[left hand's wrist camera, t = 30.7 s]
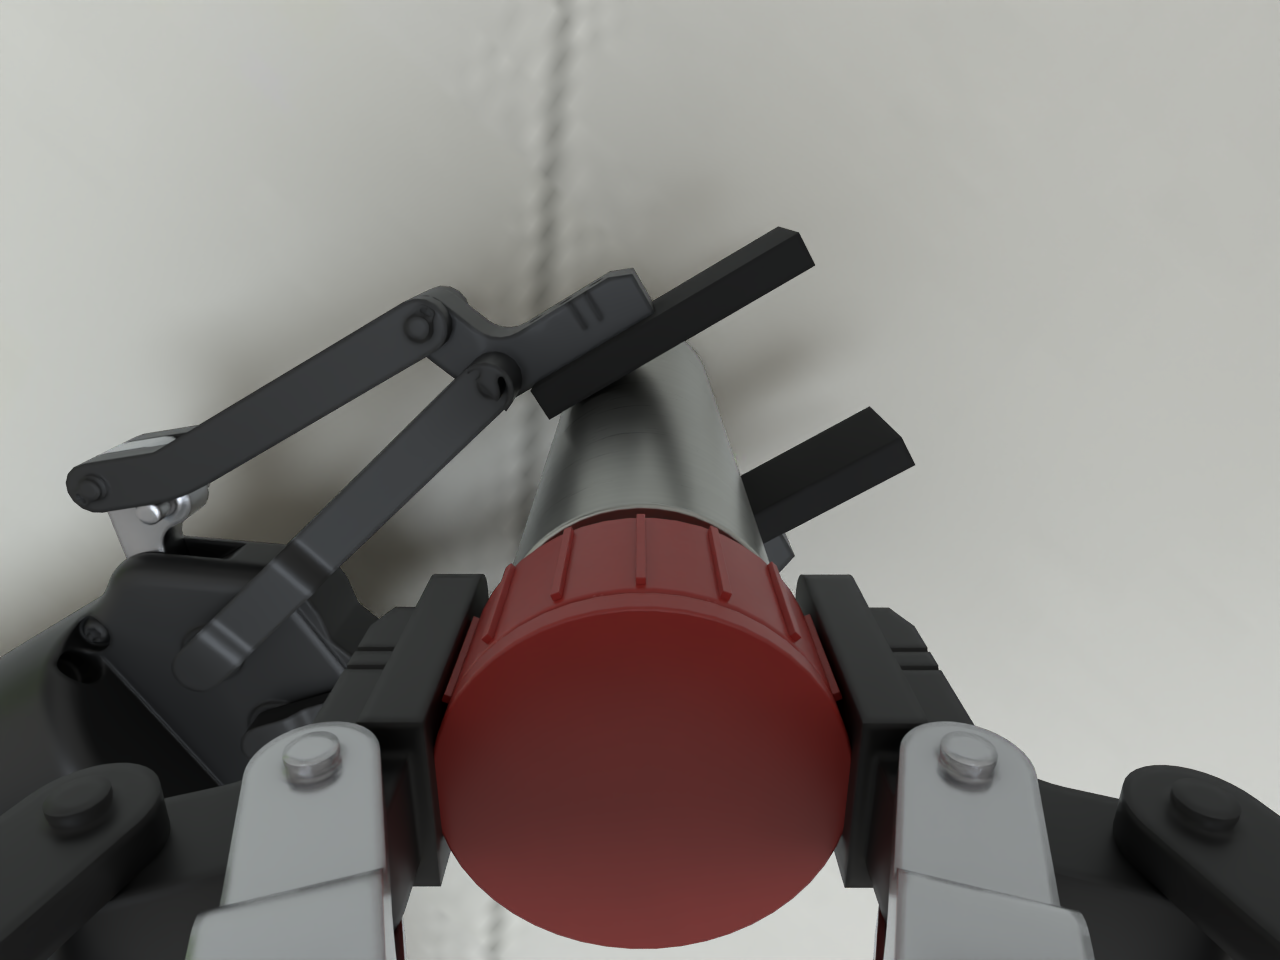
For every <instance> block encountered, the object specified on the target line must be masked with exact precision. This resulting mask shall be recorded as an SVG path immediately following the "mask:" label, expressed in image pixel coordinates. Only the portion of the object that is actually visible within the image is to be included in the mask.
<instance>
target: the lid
mask: <svg viewBox="0 0 1280 960" xmlns="http://www.w3.org/2000/svg"><path fill="white" fill-rule="evenodd" d="M841 699H842V695H841V693H840V690H839V688H838V685H837V683H836V680H835V677H834V675H833V672H832V670H831V667H830V664H829V662H828V659H827V657H826V654H825V651H824V649H823V646H822V644H821V641H820V638H819V636H818V633H817V631H816V628H815V625H814V623H813V620H812V618H811V615H810V614H808V615H806V616H804V615H803V613H802V610H801V608H800V606H799V604H798V602H797V601H796V599H795V597H794V596H793V594H792V592H791V591H790V589H789V588H788V587H787V585H786V584H785V583H784V582H783V580H782V579H781V577H780V574H779V571H778V568H777V566H776V565H775V564H774V563H773V562H770V563H769V564H768V565H767V564H766V563H765V562H764V561H763V560H762V559H761V558H760V557H758V556H757V555H755V554H754V553H753V552H751V551H750V550H748V549H747V548H746V547H744V546H743V545H741V544H739V543H737V542H735V541H733V540H732V539H730V538H728V537H726V536H724V535H722V534H719V531H718V528H716V527H713V526H710V527H709V529H706V528H703V527H701V526H697V525H693V524H689V523H685V522H680V521H676V520H667V519H658V518H645V514H637V517H636V518H625V519H618V520H608V521H603V522H600V523H596V524H592V525H588V526H584V527H581V528H578V529H576V530H573V528H572V527H569V528H566V529H564V532H563V535H560V536H558V537H556V538H555V539H553V540H551V541H549V542H547V543H546V544H544V545H542V546H540V547H539V548H537V549H536V550H535V551H533V552H532V553H530V554H529V555H528V556H526V557H525V558H524V559H522V560H521V561H520V562H519V563H518V564H517V565H516V566H514V565H513V564H511V563H510V564H509V565H508V566H507V567H506V569H505V572H504V575H503V578H502V581H501V582H500V583H499V585H498V586H497V587H496V589H495V590H494V591H493V593H492V594H491V596H490V598H489V600H488V601H487V603H486V605H485V607H484V609H483V611H482V613H481V616H480V618H478V617H475V616H474V617H473V619H472V621H471V624H470V626H469V629H468V632H467V634H466V637H465V640H464V642H463V645H462V648H461V650H460V653H459V656H458V658H457V661H456V664H455V666H454V669H453V671H452V674H451V677H450V679H449V682H448V685H447V687H446V690H445V693H444V695H443V698H442V702H445V703H448V706H447V709H446V712H445V715H444V717H443V720H442V723H441V725H440V728H439V731H438V734H437V736H436V741H435V746H434V761H435V771H436V780H437V790H438V799H439V808H440V817H441V826H442V833H443V835H444V838H445V840H446V842H447V844H448V846H449V848H450V850H451V851H452V853H453V854H454V856H455V858H456V859H457V861H458V862H459V864H460V865H461V867H462V868H463V869H464V870H465V871H466V873H467V874H468V875H469V876H470V877H471V878H472V880H473V881H474V882H475V883H476V884H477V885H478V886H479V887H480V888H481V889H482V890H483V891H485V892H486V893H487V894H488V895H489V896H490V897H491V898H492V899H493V900H495V901H496V902H498V903H499V904H500V905H502V906H503V907H505V908H506V909H508V910H509V911H510V912H512V913H513V914H515V915H517V916H519V917H520V918H522V919H524V920H526V921H528V922H530V923H531V924H533V925H535V926H538V927H540V928H543V929H545V930H547V931H550V932H552V933H555V934H557V935H560V936H564V937H567V938H570V939H574V940H577V941H580V942H585V943H590V944H596V945H601V946H606V947H617V948H628V949H658V948H668V947H677V946H684V945H689V944H694V943H699V942H704V941H708V940H711V939H715V938H718V937H721V936H724V935H728V934H731V933H733V932H735V931H738V930H740V929H742V928H745V927H747V926H749V925H752V924H754V923H755V922H757V921H759V920H761V919H763V918H764V917H766V916H768V915H770V914H771V913H773V912H775V911H776V910H778V909H779V908H780V907H782V906H783V905H784V904H786V903H787V902H789V901H790V900H791V899H793V898H794V897H795V896H796V895H797V894H798V893H799V892H800V891H801V890H803V889H804V888H805V887H806V886H807V885H808V884H809V883H810V882H811V881H812V880H813V879H814V877H815V876H816V875H817V874H818V873H819V871H820V870H821V869H822V868H823V867H824V865H825V864H826V862H827V861H828V859H829V858H830V856H831V854H832V853H833V851H834V850H835V848H836V846H837V844H838V842H839V840H840V838H841V835H842V833H843V827H844V819H845V810H846V801H847V792H848V783H849V774H850V765H851V745H850V741H849V736H848V733H847V730H846V728H845V725H844V722H843V719H842V717H841V714H840V711H839V709H838V706H837V703H836V701H838V700H841Z"/></svg>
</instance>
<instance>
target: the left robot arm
mask: <svg viewBox="0 0 1280 960" xmlns="http://www.w3.org/2000/svg"><path fill="white" fill-rule="evenodd" d="M488 600H489V597H488V586H487V581H486V577H485V575H484V574H434V575H432V577H431V578H430V580H429V582H428V584H427V586H426V588H425V590H424V592H423V594H422V596H421V598H420V600H419V602H418V604H417V605H416V607H395V608H394V609H392V610H391V611H390V612H388V613H387V614H385V615H384V616H383V617H381V618H380V619H379V620H377V621H376V622H374V623H373V624H372V625H370V627H369V629H368V630H367V632H366V634H365V635H364V637H363V639H362V640H361V642H360V644H359V645H358V650H357V651H355V652H354V654H353V655H352V657H351V659H350V660H349V662H348V664H347V669H344V670H343V672H342V674H341V675H340V677H339V679H338V681H337V682H336V684H335V686H334V687H333V689H332V691H331V692H330V694H329V696H328V697H327V699H326V701H325V702H324V704H323V706H322V707H321V709H320V711H319V712H318V714H317V716H316V717H315V719H314V721H313V722H312V724H310V725H306V726H302V727H299V728H296V729H293V730H291V731H289V732H287V733H284V734H282V735H280V736H279V737H277V738H275V739H273V740H272V741H270V742H269V743H267V744H266V745H264V746H263V747H262V748H261V749H260V750H259V751H258V752H257V753H256V754H255V755H254V756H253V757H252V758H251V760H250V761H249V763H248V764H247V766H246V768H245V771H244V774H243V779H242V780H241V781H238V782H235V783H231V784H227V785H223V786H219V787H214V788H210V789H205V790H201V791H196V792H191V793H187V794H182V795H178V796H173V797H168V798H164V796H163V792H162V788H161V784H160V781H159V778H158V776H157V775H156V774H155V772H154V771H152V770H151V769H149V768H147V767H145V766H142V765H139V764H133V763H111V764H103V765H98V766H93V767H89V768H85V769H82V770H78V771H76V772H73V773H70V774H68V775H65V776H63V777H61V778H58V779H56V780H54V781H52V782H50V783H48V784H46V785H45V786H43V787H41V788H39V789H38V790H36V791H35V792H33V793H32V794H30V795H29V796H27V797H26V798H24V799H23V800H22V801H20V802H19V803H17V804H16V805H15V806H13V807H12V808H11V809H9V810H8V811H6V812H5V813H4V814H2V815H1V816H0V960H407V955H406V941H405V930H404V923H403V914H404V911H405V908H406V905H407V902H408V899H409V896H410V892H411V889H412V886H441V884H442V880H443V876H444V873H445V869H446V866H447V862H448V859H449V855H450V851H451V850H450V848H449V846H448V844H447V842H446V840H445V838H444V835H443V833H442V826H441V817H440V808H439V799H438V790H437V780H436V771H435V761H434V746H435V741H436V736H437V734H438V731H439V728H440V725H441V723H442V720H443V717H444V715H445V712H446V709H447V706H448V703H445V702H442V698H443V695H444V693H445V690H446V687H447V685H448V682H449V679H450V677H451V674H452V671H453V669H454V666H455V664H456V661H457V658H458V656H459V653H460V650H461V648H462V645H463V642H464V640H465V637H466V634H467V632H468V629H469V626H470V624H471V621H472V619H473V617H474V616H475V617H478V618H480V616H481V613H482V611H483V609H484V607H485V605H486V603H487V601H488ZM796 601H797V602H798V604H799V606H800V608H801V610H802V613H803V615H804V616H806V615H808V614H810V615H811V618H812V620H813V623H814V625H815V628H816V631H817V633H818V636H819V638H820V641H821V644H822V646H823V649H824V651H825V654H826V657H827V659H828V662H829V664H830V667H831V670H832V672H833V675H834V677H835V680H836V683H837V685H838V688H839V690H840V693H841V695H842V699H841V700H838V701H836V703H837V706H838V709H839V711H840V714H841V717H842V719H843V722H844V725H845V728H846V730H847V733H848V736H849V741H850V745H851V765H850V774H849V783H848V792H847V801H846V810H845V819H844V827H843V833H842V835H841V838H840V840H839V842H838V844H837V846H836V848H835V850H834V852H835V855H836V859H837V862H838V866H839V869H840V873H841V876H842V880H843V883H844V887H845V888H874V891H875V894H876V897H877V900H878V903H879V908H878V915H877V923H876V930H875V941H874V955H873V960H1280V816H1279V815H1278V814H1276V813H1275V812H1274V811H1272V810H1271V809H1269V808H1268V807H1267V806H1265V805H1264V804H1263V803H1261V802H1260V801H1258V800H1257V799H1256V798H1254V797H1253V796H1251V795H1250V794H1248V793H1247V792H1245V791H1243V790H1242V789H1240V788H1238V787H1236V786H1234V785H1233V784H1231V783H1228V782H1226V781H1224V780H1222V779H1220V778H1217V777H1215V776H1212V775H1209V774H1206V773H1203V772H1200V771H1196V770H1193V769H1189V768H1184V767H1179V766H1169V765H1152V766H1145V767H1142V768H1139V769H1136V770H1134V771H1133V772H1131V773H1130V774H1129V775H1128V776H1127V777H1126V778H1125V781H1124V783H1123V786H1122V790H1121V794H1120V798H1119V799H1117V798H1112V797H1108V796H1103V795H1098V794H1094V793H1089V792H1085V791H1080V790H1075V789H1071V788H1066V787H1062V786H1058V785H1055V784H1051V783H1048V782H1045V781H1042V780H1040V779H1037V774H1036V771H1035V768H1034V766H1033V764H1032V763H1031V761H1030V760H1029V758H1028V757H1027V756H1026V755H1025V754H1024V753H1023V752H1022V751H1021V750H1020V749H1019V748H1018V747H1017V746H1016V745H1014V744H1013V743H1011V742H1010V741H1008V740H1007V739H1005V738H1003V737H1001V736H1000V735H998V734H996V733H993V732H991V731H989V730H987V729H984V728H981V727H978V726H975V725H974V724H973V722H972V720H971V719H970V717H969V716H968V714H967V712H966V711H965V709H964V707H963V706H962V704H961V702H960V701H959V699H958V697H957V696H956V694H955V692H954V691H953V689H952V688H951V686H950V684H949V683H948V681H947V679H946V678H945V676H944V674H943V673H942V671H941V670H938V664H937V663H936V661H935V659H934V658H933V656H932V655H931V653H930V652H928V651H927V646H926V645H925V643H924V641H923V640H922V638H921V636H920V635H919V633H918V631H917V630H916V628H915V626H913V625H912V624H911V623H909V622H908V621H906V620H905V619H904V618H902V617H901V616H900V615H898V614H897V613H895V612H894V611H893V610H891V609H890V608H869V607H868V605H867V603H866V601H865V599H864V597H863V595H862V593H861V591H860V590H859V588H858V586H857V584H856V582H855V580H854V578H853V577H852V576H851V575H800V576H799V578H798V582H797V588H796Z"/></svg>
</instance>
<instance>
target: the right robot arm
mask: <svg viewBox="0 0 1280 960" xmlns="http://www.w3.org/2000/svg"><path fill="white" fill-rule="evenodd" d="M813 266H815V264H814V262H813V260H812V258H811V256H810V254H809V252H808V250H807V248H806V246H805V244H804V242H803V240H802V238H801V236H800V234H799V232H795V231H792V230H788V229H785V228H781V227H777V228H775V229H773V230H772V231H770V232H768V233H767V234H765V235H763V236H761V237H760V238H758V239H756V240H755V241H753V242H751V243H750V244H748V245H746V246H745V247H743V248H741V249H740V250H738V251H736V252H735V253H733V254H731V255H730V256H728V257H726V258H724V259H723V260H721V261H719V262H718V263H716V264H714V265H713V266H711V267H709V268H708V269H706V270H704V271H703V272H701V273H699V274H698V275H696V276H694V277H693V278H691V279H689V280H687V281H686V282H684V283H682V284H681V285H679V286H677V287H676V288H674V289H672V290H671V291H669V292H667V293H666V294H664V295H662V296H661V297H659V298H657V299H656V300H654V301H652V300H651V298H650V296H649V295H648V293H647V291H646V289H645V288H644V286H643V284H642V282H641V281H640V279H639V277H638V275H637V274H636V272H635V270H634V268H629V269H623V270H616V271H610V272H608V273H607V274H605V275H604V276H602V277H600V278H599V279H597V280H595V281H594V282H592V283H590V284H589V285H587V286H585V287H584V288H582V289H581V290H579V291H577V292H576V293H574V294H572V295H571V296H569V297H567V298H566V299H564V300H562V301H561V302H559V303H558V304H556V305H554V306H553V307H551V308H549V309H548V310H546V311H544V312H543V313H541V314H539V315H538V316H536V317H535V318H533V319H531V320H530V321H528V322H526V323H524V324H522V325H520V326H515V327H502V326H499V325H496V324H494V323H492V322H490V321H489V320H487V319H486V318H485V317H483V316H482V315H481V314H480V313H478V312H477V311H476V310H475V309H473V308H472V307H471V306H469V305H468V303H467V300H466V298H465V297H464V296H463V295H462V294H461V293H460V292H459V291H458V290H456V289H454V288H452V287H449V286H438V287H435V288H432V289H430V290H428V291H426V292H423V293H421V294H419V295H417V296H415V297H413V298H411V299H409V300H407V301H405V302H403V303H401V304H400V305H398V306H396V307H395V308H393V309H391V310H390V311H388V312H386V313H385V314H383V315H381V316H380V317H378V318H376V319H375V320H373V321H371V322H370V323H368V324H366V325H365V326H363V327H361V328H360V329H358V330H356V331H355V332H353V333H351V334H350V335H348V336H346V337H345V338H343V339H341V340H340V341H338V342H336V343H335V344H333V345H331V346H330V347H328V348H326V349H325V350H323V351H321V352H320V353H318V354H316V355H315V356H313V357H311V358H310V359H308V360H306V361H305V362H303V363H301V364H300V365H298V366H296V367H295V368H293V369H291V370H290V371H288V372H286V373H285V374H283V375H281V376H280V377H278V378H276V379H275V380H273V381H271V382H270V383H268V384H266V385H265V386H263V387H261V388H260V389H258V390H256V391H255V392H253V393H251V394H250V395H248V396H246V397H245V398H243V399H242V400H240V401H238V402H237V403H235V404H233V405H232V406H230V407H228V408H227V409H225V410H223V411H222V412H220V413H218V414H217V415H215V416H213V417H212V418H210V419H208V420H207V421H205V422H203V423H202V424H200V425H196V426H190V427H184V428H177V429H171V430H165V431H159V432H152V433H146V434H142V435H139V436H137V437H135V438H133V439H131V440H128V441H126V442H124V443H122V444H120V445H118V446H116V447H114V448H112V449H110V450H108V451H106V452H104V453H102V454H100V455H98V456H96V457H94V458H92V459H90V460H88V461H86V462H84V463H82V464H80V465H78V466H76V467H74V468H73V469H72V470H71V471H70V472H69V473H68V476H67V480H66V486H67V491H68V493H69V495H70V496H71V498H72V500H73V501H74V502H75V503H76V504H78V505H79V506H80V507H81V508H83V509H85V510H88V511H91V512H101V513H103V512H108V514H109V516H110V519H111V521H112V524H113V526H114V529H115V531H116V533H117V536H118V538H119V541H120V543H121V546H122V548H123V551H124V553H125V555H126V558H127V559H126V560H125V561H124V562H122V563H121V564H120V565H119V566H118V567H117V568H116V570H115V571H114V572H113V574H112V576H111V578H110V581H109V583H108V586H107V589H106V591H105V592H104V594H103V595H102V596H101V597H99V598H97V599H96V600H94V601H92V602H91V603H89V604H87V605H86V606H84V607H83V608H81V609H79V610H78V611H76V612H74V613H73V614H71V615H69V616H68V617H66V618H64V619H63V620H61V621H59V622H58V623H56V624H54V625H53V626H51V627H49V628H48V629H46V630H45V631H43V632H41V633H40V634H38V635H36V636H35V637H33V638H31V639H30V640H28V641H26V642H25V643H23V644H21V645H20V646H18V647H16V648H15V649H13V650H12V651H10V652H8V653H7V654H5V655H4V656H2V657H1V658H0V816H1V815H2V814H4V813H5V812H6V811H8V810H9V809H11V808H12V807H13V806H15V805H16V804H17V803H19V802H20V801H22V800H23V799H24V798H26V797H27V796H29V795H30V794H32V793H33V792H35V791H36V790H38V789H39V788H41V787H43V786H45V785H46V784H48V783H50V782H52V781H54V780H56V779H58V778H61V777H63V776H65V775H68V774H70V773H73V772H76V771H78V770H82V769H85V768H89V767H93V766H98V765H103V764H111V763H133V764H139V765H142V766H145V767H147V768H149V769H151V770H152V771H154V772H155V774H156V775H157V776H158V778H159V781H160V784H161V788H162V792H163V796H164V798H168V797H173V796H178V795H182V794H187V793H191V792H196V791H201V790H205V789H210V788H214V787H219V786H223V785H227V784H231V783H235V782H238V781H241V780H242V779H243V774H244V771H245V768H246V766H247V764H248V763H249V761H250V760H251V758H252V757H253V756H254V755H255V754H256V753H257V752H258V751H259V750H260V749H261V748H262V747H263V746H264V745H266V744H267V743H269V742H270V741H272V740H273V739H275V738H277V737H279V736H280V735H282V734H284V733H287V732H289V731H291V730H293V729H296V728H299V727H302V726H306V725H310V724H312V722H313V721H314V719H315V717H316V716H317V714H318V712H319V711H320V709H321V707H322V706H323V704H324V702H325V701H326V699H327V697H328V696H329V694H330V692H331V691H332V689H333V687H334V686H335V684H336V682H337V681H338V679H339V677H340V675H341V674H342V672H343V670H344V669H347V664H348V662H349V660H350V659H351V657H352V655H353V654H354V652H355V651H357V650H358V645H359V644H360V642H361V640H362V639H363V637H364V635H365V634H366V632H367V630H368V629H369V627H370V625H372V624H373V623H374V622H376V621H377V620H379V619H378V618H377V617H376V616H374V615H373V614H372V613H371V612H369V611H368V610H367V609H366V608H364V607H363V606H362V605H361V604H360V603H359V602H358V600H357V598H356V596H355V594H354V591H353V589H352V587H351V585H350V582H349V580H348V578H347V576H346V575H345V573H344V572H343V571H342V570H341V568H340V566H341V565H342V564H343V563H344V562H345V561H346V560H347V559H348V558H349V557H350V556H351V555H352V554H353V553H354V552H355V551H356V550H358V549H359V548H360V547H361V546H362V545H363V544H364V543H365V542H366V541H367V540H368V539H369V538H370V537H371V536H372V535H373V534H374V533H375V532H376V531H377V530H378V529H380V528H381V527H382V526H383V525H384V524H385V523H386V522H387V521H388V520H389V519H390V518H391V517H392V516H393V515H394V514H395V513H396V512H397V511H398V510H399V509H401V508H402V507H403V506H404V505H405V504H406V503H407V502H408V501H409V500H410V499H411V498H412V497H413V496H414V495H415V494H416V493H417V492H418V491H419V490H420V489H421V488H423V487H424V486H425V485H426V484H427V483H428V482H429V481H430V480H431V479H432V478H433V477H434V476H435V475H436V474H437V473H438V472H439V471H440V470H441V469H442V468H443V467H445V466H446V465H447V464H448V463H449V462H450V461H451V460H452V459H453V458H454V457H455V456H456V455H457V454H458V453H459V452H460V451H461V450H462V449H463V448H464V447H465V446H467V445H468V444H469V443H470V442H471V441H472V440H473V439H474V438H475V437H476V436H477V435H478V434H479V433H480V432H481V431H482V430H483V429H484V428H485V427H486V426H488V425H489V424H490V423H491V422H492V421H493V420H494V419H495V418H496V417H497V416H498V415H499V414H500V413H501V412H502V411H503V410H505V411H507V409H508V408H509V406H510V405H511V404H512V402H513V400H514V399H515V397H517V396H519V395H520V394H522V393H524V392H525V391H527V390H529V389H531V388H532V389H531V392H532V394H533V395H534V397H535V398H536V400H537V402H538V403H539V405H540V406H541V408H542V409H543V411H544V412H545V414H546V415H547V417H548V419H549V420H550V419H551V418H553V417H555V416H557V415H558V414H560V413H562V412H563V411H565V410H567V409H569V408H570V407H572V406H574V405H575V404H577V403H579V402H581V401H582V400H584V399H586V398H588V397H589V396H591V395H593V394H594V393H596V392H598V391H600V390H601V389H603V388H605V387H606V386H608V385H610V384H612V383H613V382H615V381H617V380H619V379H620V378H622V377H624V376H625V375H627V374H629V373H631V372H632V371H634V370H636V369H637V368H639V367H641V366H643V365H644V364H646V363H648V362H650V361H651V360H653V359H655V358H656V357H658V356H660V355H662V354H663V353H665V352H667V351H669V350H670V349H672V348H674V347H675V346H677V345H679V344H681V343H682V342H684V341H686V340H687V339H689V338H691V337H693V336H694V335H696V334H698V333H700V332H701V331H703V330H705V329H706V328H708V327H710V326H712V325H713V324H715V323H717V322H718V321H720V320H722V319H724V318H725V317H727V316H729V315H731V314H732V313H734V312H736V311H737V310H739V309H741V308H743V307H744V306H746V305H748V304H749V303H751V302H753V301H755V300H756V299H758V298H760V297H762V296H763V295H765V294H767V293H768V292H770V291H772V290H774V289H775V288H777V287H779V286H781V285H782V284H784V283H786V282H787V281H789V280H791V279H793V278H794V277H796V276H798V275H799V274H801V273H803V272H805V271H806V270H808V269H810V268H812V267H813ZM425 357H427V358H428V359H430V360H431V361H432V362H434V363H435V364H436V365H438V366H439V367H440V368H442V369H443V370H444V371H445V372H447V373H448V374H449V375H451V376H452V377H453V378H455V379H454V380H453V381H452V382H451V383H450V384H449V385H448V386H447V387H446V388H445V389H444V390H443V391H442V392H441V393H440V394H439V395H438V396H437V397H436V398H435V399H434V400H433V401H432V402H431V403H430V404H429V405H428V406H427V407H426V408H425V409H424V410H423V411H422V412H421V413H420V414H419V415H418V416H417V417H416V418H415V419H414V420H413V421H412V422H411V423H410V424H409V425H408V426H407V427H406V428H405V429H404V430H402V431H401V432H400V433H399V434H398V435H397V436H396V437H395V438H394V439H393V440H392V441H391V442H390V443H389V444H388V445H387V446H386V447H385V448H384V449H383V450H382V451H381V452H380V453H379V454H378V455H377V456H376V457H375V458H374V459H373V460H372V461H371V462H370V463H369V464H368V465H367V466H366V467H365V468H364V469H363V470H362V471H361V472H360V473H359V474H358V475H357V476H356V477H355V478H354V479H353V480H352V481H351V482H350V483H349V484H348V485H347V486H346V487H345V488H344V489H343V490H342V491H341V492H340V493H339V494H338V495H337V496H336V497H335V498H334V499H333V500H332V501H331V502H329V503H328V504H327V505H326V506H325V507H324V508H323V509H322V510H321V511H320V512H319V513H318V514H317V515H316V516H315V517H314V518H313V519H312V520H311V521H310V522H309V523H308V524H307V525H306V526H305V527H304V528H303V529H302V530H301V531H300V532H299V533H298V534H297V535H296V536H295V537H294V538H293V539H292V540H291V541H290V542H289V543H288V544H287V545H285V544H274V543H262V542H251V541H239V540H228V539H217V538H205V537H194V536H183V533H182V523H183V521H184V520H185V519H187V518H188V517H189V516H191V515H192V514H194V513H195V512H196V511H198V510H199V509H201V508H202V507H203V506H204V505H205V504H206V502H207V500H208V495H209V491H208V487H209V485H210V483H211V482H213V481H214V480H216V479H218V478H220V477H221V476H223V475H225V474H226V473H228V472H230V471H232V470H233V469H235V468H237V467H238V466H240V465H242V464H244V463H245V462H247V461H249V460H250V459H252V458H254V457H256V456H257V455H259V454H261V453H262V452H264V451H266V450H267V449H269V448H271V447H273V446H274V445H276V444H278V443H279V442H281V441H283V440H285V439H286V438H288V437H290V436H291V435H293V434H295V433H297V432H298V431H300V430H302V429H303V428H305V427H307V426H309V425H310V424H312V423H314V422H315V421H317V420H319V419H321V418H322V417H324V416H326V415H327V414H329V413H331V412H333V411H334V410H336V409H338V408H339V407H341V406H343V405H345V404H346V403H348V402H350V401H351V400H353V399H355V398H357V397H358V396H360V395H362V394H363V393H365V392H367V391H369V390H370V389H372V388H374V387H375V386H377V385H379V384H380V383H382V382H384V381H386V380H387V379H389V378H391V377H392V376H394V375H396V374H398V373H399V372H401V371H403V370H404V369H406V368H408V367H410V366H411V365H413V364H415V363H416V362H418V361H420V360H422V359H423V358H425ZM914 465H915V463H914V461H913V459H912V457H911V455H910V453H909V451H908V449H907V447H906V445H905V443H904V441H903V439H902V437H901V436H900V435H899V434H898V433H897V432H896V431H895V430H893V429H892V428H891V427H890V426H889V425H888V424H887V423H886V422H885V421H884V420H883V419H882V418H881V417H880V416H879V415H878V414H877V413H876V412H875V411H874V410H873V409H872V408H871V407H870V406H869V407H868V408H866V409H864V410H862V411H860V412H858V413H856V414H855V415H853V416H851V417H849V418H847V419H845V420H844V421H842V422H840V423H838V424H836V425H834V426H832V427H831V428H829V429H827V430H825V431H823V432H821V433H819V434H818V435H816V436H814V437H812V438H810V439H808V440H806V441H805V442H803V443H801V444H799V445H797V446H795V447H793V448H792V449H790V450H788V451H786V452H784V453H782V454H780V455H779V456H777V457H775V458H773V459H771V460H769V461H767V462H766V463H764V464H762V465H760V466H758V467H756V468H755V469H753V470H751V471H749V472H747V473H745V474H743V475H742V476H741V479H742V482H743V485H744V488H745V491H746V494H747V497H748V500H749V503H750V506H751V509H752V512H753V515H754V518H755V521H756V524H757V527H758V530H759V533H760V536H761V539H762V542H763V545H764V548H765V551H766V554H767V557H768V560H769V563H770V562H773V563H774V564H775V565H776V566H777V568H778V571H779V572H780V571H781V570H782V569H783V568H784V567H785V566H786V565H787V564H788V563H789V562H790V561H791V559H792V558H793V557H794V556H795V555H794V553H793V551H792V548H791V546H790V543H789V541H788V539H787V536H786V534H785V533H786V532H787V531H789V530H791V529H793V528H795V527H797V526H799V525H801V524H803V523H805V522H807V521H809V520H811V519H812V518H814V517H816V516H818V515H820V514H822V513H824V512H826V511H828V510H830V509H832V508H834V507H836V506H837V505H839V504H841V503H843V502H845V501H847V500H849V499H851V498H853V497H855V496H857V495H859V494H861V493H862V492H864V491H866V490H868V489H870V488H872V487H874V486H876V485H878V484H880V483H882V482H884V481H886V480H887V479H889V478H891V477H893V476H895V475H897V474H899V473H901V472H903V471H905V470H907V469H909V468H911V467H912V466H914Z"/></svg>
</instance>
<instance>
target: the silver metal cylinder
mask: <svg viewBox="0 0 1280 960" xmlns="http://www.w3.org/2000/svg"><path fill="white" fill-rule="evenodd" d="M637 514H645V518H658V519H667V520H676V521H680V522H685V523H689V524H693V525H697V526H701V527H703V528H706V529H709V527H710V526H713V527H716V528H718V531H719V534H722V535H724V536H726V537H728V538H730V539H732V540H733V541H735V542H737V543H739V544H741V545H743V546H744V547H746V548H747V549H748V550H750V551H751V552H753V553H754V554H755V555H757V556H758V557H760V558H761V559H762V560H763V561H764V562H765V563H766V564H767V565H768V564H769V560H768V557H767V554H766V551H765V548H764V545H763V542H762V539H761V536H760V533H759V530H758V527H757V524H756V521H755V518H754V515H753V512H752V509H751V506H750V503H749V500H748V497H747V494H746V491H745V488H744V485H743V482H742V479H741V476H740V473H739V470H738V467H737V464H736V461H735V458H734V455H733V452H732V449H731V446H730V443H729V440H728V437H727V434H726V431H725V428H724V425H723V422H722V419H721V416H720V413H719V410H718V406H717V403H716V400H715V397H714V394H713V391H712V388H711V385H710V382H709V379H708V376H707V373H706V371H705V368H704V365H703V363H702V361H701V360H700V358H699V356H698V355H697V354H696V352H695V351H694V350H693V349H692V348H691V346H690V345H689V344H687V343H686V342H685V341H684V342H682V343H681V344H679V345H677V346H675V347H674V348H672V349H670V350H669V351H667V352H665V353H663V354H662V355H660V356H658V357H656V358H655V359H653V360H651V361H650V362H648V363H646V364H644V365H643V366H641V367H639V368H637V369H636V370H634V371H632V372H631V373H629V374H627V375H625V376H624V377H622V378H620V379H619V380H617V381H615V382H613V383H612V384H610V385H608V386H606V387H605V388H603V389H601V390H600V391H598V392H596V393H594V394H593V395H591V396H589V397H588V398H586V399H584V400H582V401H581V402H579V403H577V404H575V405H574V406H572V407H570V408H569V409H567V410H565V411H563V412H562V414H561V417H560V420H559V423H558V426H557V430H556V433H555V436H554V439H553V442H552V445H551V448H550V451H549V454H548V458H547V461H546V464H545V467H544V470H543V473H542V476H541V479H540V483H539V486H538V489H537V492H536V495H535V498H534V501H533V504H532V508H531V511H530V514H529V517H528V520H527V523H526V526H525V529H524V532H523V536H522V539H521V542H520V545H519V548H518V551H517V554H516V557H515V561H514V564H513V565H514V566H516V565H517V564H518V563H519V562H520V561H521V560H522V559H524V558H525V557H526V556H528V555H529V554H530V553H532V552H533V551H535V550H536V549H537V548H539V547H540V546H542V545H544V544H546V543H547V542H549V541H551V540H553V539H555V538H556V537H558V536H560V535H563V532H564V529H566V528H569V527H572V528H573V530H576V529H578V528H581V527H584V526H588V525H592V524H596V523H600V522H603V521H608V520H618V519H625V518H636V517H637Z"/></svg>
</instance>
